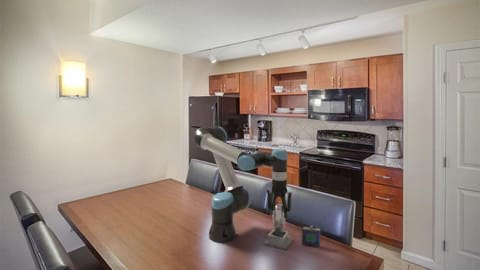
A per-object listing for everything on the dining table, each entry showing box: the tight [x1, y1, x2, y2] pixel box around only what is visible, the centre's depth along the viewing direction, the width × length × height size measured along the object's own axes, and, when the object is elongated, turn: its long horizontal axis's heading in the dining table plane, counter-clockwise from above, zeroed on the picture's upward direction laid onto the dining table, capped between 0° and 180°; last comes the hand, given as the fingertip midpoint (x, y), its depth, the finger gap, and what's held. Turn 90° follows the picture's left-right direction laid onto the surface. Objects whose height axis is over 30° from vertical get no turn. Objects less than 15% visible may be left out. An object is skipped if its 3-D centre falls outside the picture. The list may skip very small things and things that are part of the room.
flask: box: [301, 224, 321, 248], centre depth 136 cm, size 9×3×11 cm, turn 77°
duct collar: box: [263, 228, 294, 251], centre depth 140 cm, size 12×12×5 cm
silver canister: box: [274, 203, 284, 233], centre depth 139 cm, size 5×5×14 cm
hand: (279, 222), depth 139 cm, fingers closed on silver canister, 5 cm apart
